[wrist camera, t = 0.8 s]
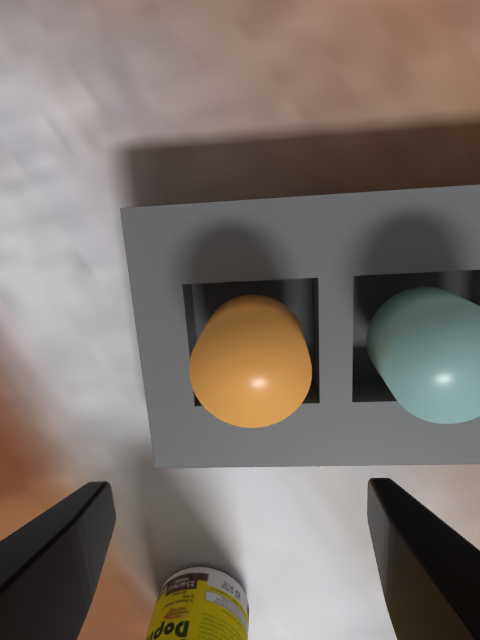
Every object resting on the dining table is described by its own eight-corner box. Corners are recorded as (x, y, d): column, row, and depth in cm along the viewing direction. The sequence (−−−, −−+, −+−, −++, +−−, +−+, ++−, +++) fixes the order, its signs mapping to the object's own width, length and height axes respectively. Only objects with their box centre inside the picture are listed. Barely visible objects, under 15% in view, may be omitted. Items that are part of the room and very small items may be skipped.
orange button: (303, 292, 17) (310, 311, 14) (305, 389, 18) (313, 426, 15) (198, 296, 17) (183, 316, 14) (207, 391, 19) (194, 429, 15)
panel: (707, 170, 17) (783, 164, 14) (648, 429, 20) (702, 461, 18) (139, 207, 19) (120, 208, 16) (168, 438, 22) (155, 468, 20)
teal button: (479, 283, 16) (528, 301, 13) (470, 384, 18) (512, 422, 15) (367, 288, 17) (389, 307, 14) (365, 387, 18) (385, 425, 15)
